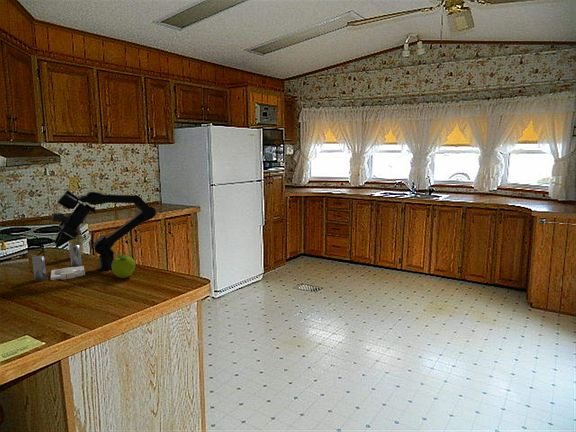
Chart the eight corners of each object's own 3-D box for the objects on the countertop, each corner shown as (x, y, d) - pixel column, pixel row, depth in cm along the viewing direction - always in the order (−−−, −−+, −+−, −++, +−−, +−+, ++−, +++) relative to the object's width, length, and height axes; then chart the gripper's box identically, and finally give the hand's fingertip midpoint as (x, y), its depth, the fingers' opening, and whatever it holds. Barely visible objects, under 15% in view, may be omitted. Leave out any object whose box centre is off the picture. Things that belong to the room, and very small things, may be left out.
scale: (83, 268, 189) (83, 263, 188) (85, 276, 176) (84, 271, 175) (51, 272, 183) (51, 267, 182) (50, 281, 169) (50, 276, 169)
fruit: (116, 281, 167) (114, 258, 166) (110, 276, 174) (108, 254, 173) (139, 277, 173) (137, 254, 171) (131, 272, 180) (129, 250, 179)
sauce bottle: (73, 259, 206) (69, 221, 203) (67, 257, 210) (63, 220, 207) (86, 256, 211) (82, 219, 208) (80, 255, 215) (76, 218, 212)
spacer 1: (48, 279, 173) (46, 256, 172) (38, 281, 170) (35, 258, 168) (43, 277, 175) (40, 255, 174) (32, 280, 172) (29, 257, 170)
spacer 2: (83, 265, 194) (81, 245, 193) (74, 267, 191) (72, 246, 189) (78, 264, 197) (76, 244, 195) (69, 266, 193) (67, 246, 191)
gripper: (60, 203, 183) (37, 232, 179) (63, 207, 167) (38, 238, 163) (82, 217, 188) (60, 245, 185) (87, 222, 173) (63, 252, 169)
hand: (55, 245), depth 175 cm, fingers open, 9 cm apart
